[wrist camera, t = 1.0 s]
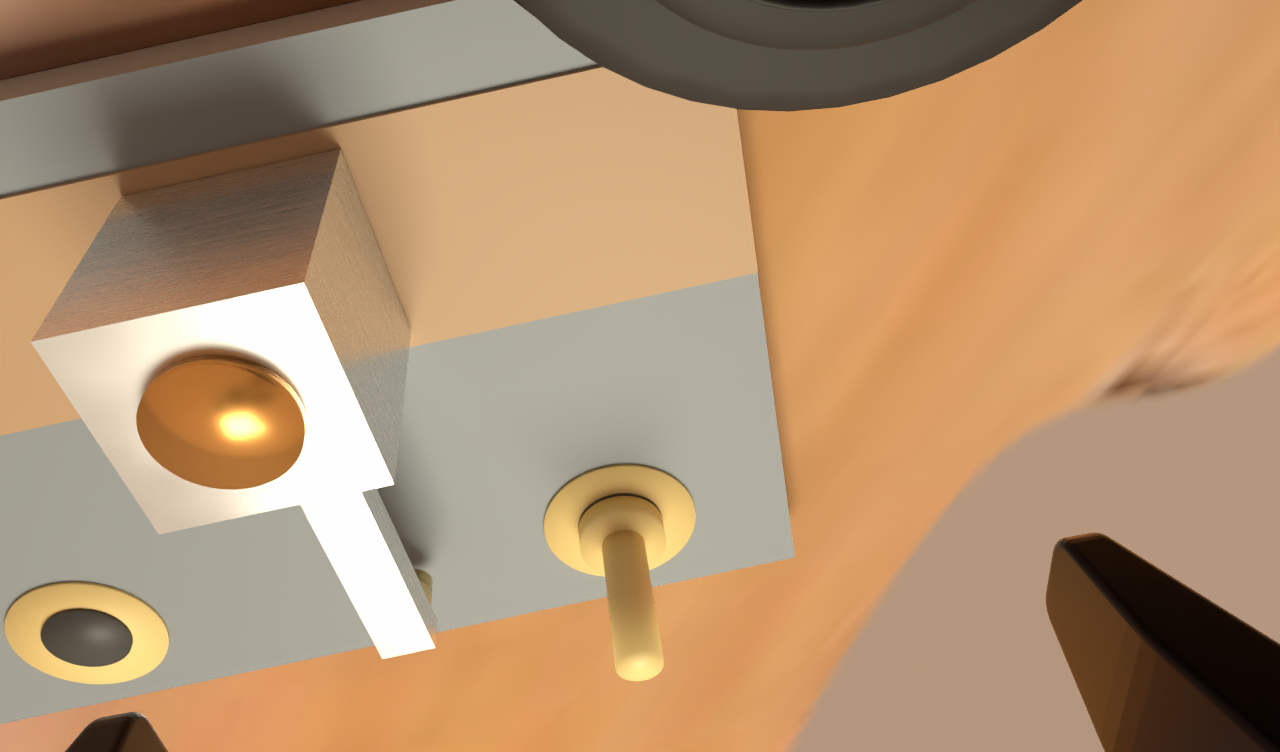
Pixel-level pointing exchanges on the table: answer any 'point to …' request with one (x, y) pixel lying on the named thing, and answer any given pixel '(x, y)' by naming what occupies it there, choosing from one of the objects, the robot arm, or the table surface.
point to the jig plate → (439, 347)
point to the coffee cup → (791, 44)
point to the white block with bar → (251, 368)
